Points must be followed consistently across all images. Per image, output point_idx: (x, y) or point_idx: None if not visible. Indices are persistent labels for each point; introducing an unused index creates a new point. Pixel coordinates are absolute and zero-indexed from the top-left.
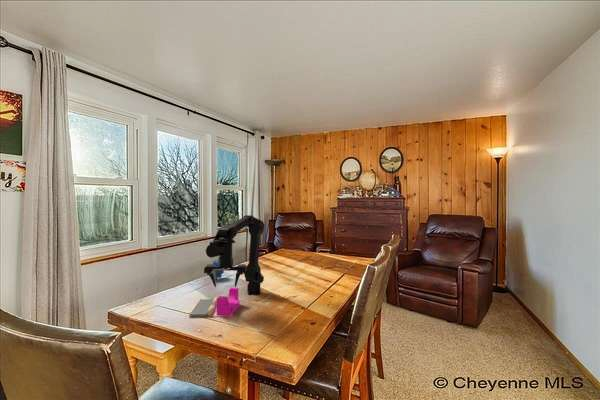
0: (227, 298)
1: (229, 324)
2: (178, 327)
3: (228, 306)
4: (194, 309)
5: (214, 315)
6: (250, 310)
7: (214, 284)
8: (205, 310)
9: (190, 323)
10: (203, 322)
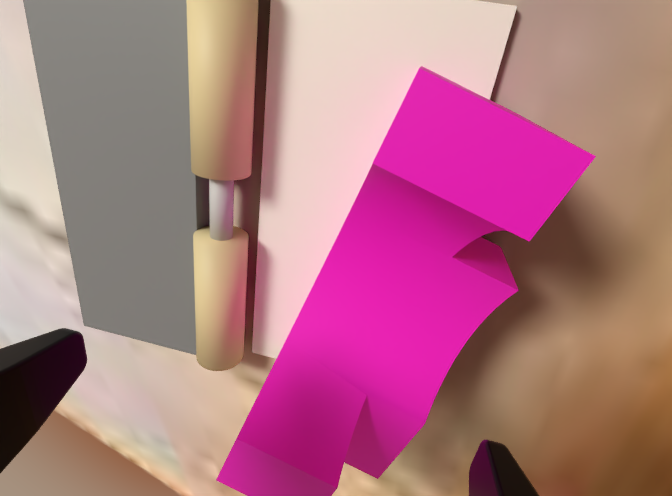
0: (343, 463)
1: (380, 481)
2: (98, 415)
3: (364, 468)
4: (78, 241)
5: (267, 351)
6: (604, 333)
7: (18, 427)
8: (175, 287)
9: (142, 394)
10: (214, 407)
